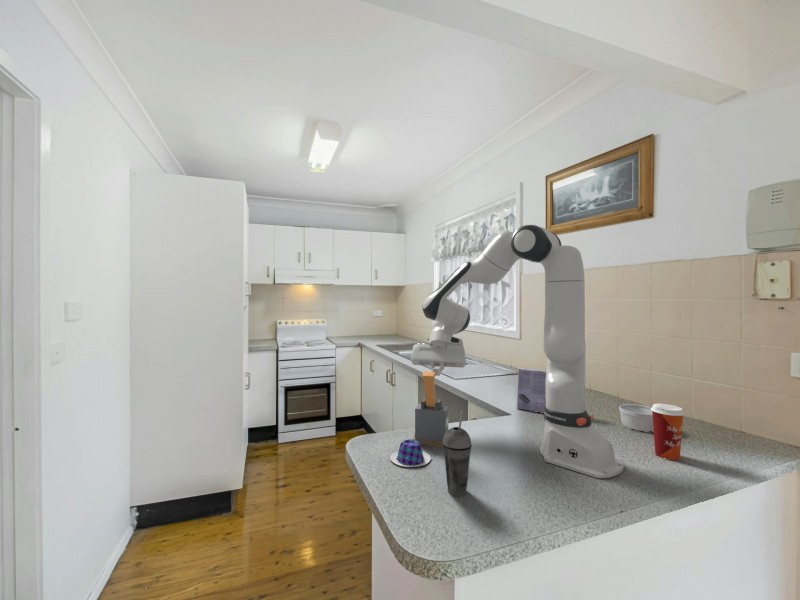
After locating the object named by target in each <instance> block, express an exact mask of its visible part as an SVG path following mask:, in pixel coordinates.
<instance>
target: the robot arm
mask: <svg viewBox="0 0 800 600" xmlns="http://www.w3.org/2000/svg"><path fill="white" fill-rule="evenodd" d="M582 257H583V256H582V254H581V251H580V250H579V249H578V248H576V247H575V246H572V245H562V241H561V239H560V238H559V236H558V235H557V234H556V233H554V232H551V231H550V230H548V229H547V228H545V227H542V226H539V225H536V224H526V225H525V224H524V225H522V226H520V227H518V228H517V229H516V230H515V231H514V232H512V231H509V230H507V231H506V230H504V231H502V232H500V233H498V234H497V236H495V237H494V238H493V239H492V240H491V241H490V242H489V244H488V245H487V246H486V248H485V249H484V250H483V251H482V253H480V255H479V256H478V257H476V258H475V259H473V260H472V261H471V260H470V261H465V262H463V263H462V264H460V266H458V267H457V268H456V269H455V270H454V271H453V272H452V273H451V274H450V275H449V276H448V277H447V279H446V278H445V279H446V280H444V281H443V282H442V283H441V285H439V286H438V287H437V288H436V289H435V290H434V291H433V292H432V293H430V294H429V295H428V296H427V297H426V298H425V300H424V301H423V304H422V308H421V309H422V312H423V314H424V316H425V318H427V319H428V320H432V323H431V333H430V334H429V341H428V342H417V343H415V344H413V345H412V349H411V350H412V352H411V354H410V363H411V365H412V366H413V365H414V366H424V367H425V366H426V367H428V366H429V367H430V369H431V372H435V377H439V376H441V373H442V372H443V370H445V367H446V368H447V367H449V368H460V369H461V368H465V367H466V365H467V363H466V361H467V360H466V352H465V347H464V342H463V339H462V338H458V337H455V336H454V335H457V334H459V333H461V332H464V331H465V330H466V329H467V328H468V326H469V325H470V321H471V313H470V310H469V309H468V308H467V307H465V306H463V305H461V304H459V303H457V302H455V301H453V300H451V299H449V298H448V297H449V296H450V295H451V294H453V292H454V291H455V290H456V289H457V288H459V286H460V285H463V284H466V283H467V284H468V283H472V284H473V283H474V284H480V285H481V284H482V285H493V284H497V283H498V282H500V281H501V280H502V279H503V278H504V277H505V276H506V275H507V274H508V272H509V271H510V270H511V269H512V267H513V266H514V265H515V263H516V262H517V261H518V260H521V259H523V260H526V261H529V262H531V263H537V264H538V263H539V264H541V265H542V266H543V269H544V296H545V297H544V305H545V306H544V320H543V321H544V323H543V324H544V325H543V352H544V354H545V356H546V357H547V359H546V370H545V371H546V405H545V406H544V414H543V420H544V430H543V437H542V442H541V445H540V448H539V453H540V454H541V456H543V460H544V462H546V463H549V464H552V465H554V466H558V467H562V468H564V469H568V470H571V471H574V472H578V473H580V474H583V475H587V476H590V477H593V478H595V479H608V478H609V479H610V478H612V477H615V476H618V475H619V474H621V473H623V472H624V470H625V466H624V462H622V461H620V460H619V459H616V458H615V457H616V456H615V453H614V452H615V451H614V447H613V445H612V443H611V442H610V441H609V440H608V439H607V438H606V436H604V435H603V434H602V433H601V432H600V431H598V429H597V428H596V427H595V426H593V425H592V420H594V419H595V418H594V417H595V415H594V414H592V415H589V414H588V411H587V410H586V346H587V345H586V333H585V332H586V328H585V327H586V324H585V323H586V315H585V313H586V299H585V298H586V296H585V294H586V292H585V283H586V282H585V270H584V269H585V268H584V262H583V258H582ZM435 367H438V368H435Z"/></svg>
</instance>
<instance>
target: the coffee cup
mask: <svg viewBox="0 0 800 600" xmlns="http://www.w3.org/2000/svg"><path fill="white" fill-rule="evenodd" d="M651 407H652V408H651V410H652V415H653V430H654V432H653V438H654V439H653V441H654V442H653V443H654V453H655V455H656V457H658V456H659V458H660V457H662V458H661V459H663V458H666V459H665V460H667V459H670V460H669V461H679V460H680V457H681V450H682V449H681V447H682V436H683V435H682V434H683V425H684V424H683V422H684V416H685V412H684V409H683V408H682V407H680V406H678V405H673V404H669V403H654V404H652V406H651ZM678 459H679V460H678Z"/></svg>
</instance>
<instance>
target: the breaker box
mask: <svg viewBox="0 0 800 600" xmlns="http://www.w3.org/2000/svg"><path fill="white" fill-rule="evenodd" d="M442 402H443V401H442V398H438V399H437V400H436V408H429V407H426V398H425V397H423V398H422V399H421V401H420V402H419V403H418V404H417V406H416V407H415V408H414V435H413V437H412V438H411V440H416V441H419V442H420V444H421V446H425V447H426V446H430V447H437V448H443V445H442V443H443V438H444V435H445V433H446V432H447V431H448V430H449V420H450V418H449V417H450V416H449V404H443V403H442Z"/></svg>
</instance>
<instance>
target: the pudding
mask: <svg viewBox="0 0 800 600" xmlns="http://www.w3.org/2000/svg"><path fill="white" fill-rule="evenodd" d="M396 458H397V460H396ZM431 458H432V457H431V455H430V454H429V453H427V452H426V451H423V449H422V445H421V444H420V442H419V441H416V440H412V438H411V439H410V438H409V439H404V440H403V441H401V443H400V445H399V448H398V450H397V451H395V452H393V453H392V454H391V455H390V461H391V462H392V463H393V464H395V465H397V466H400V467H406V468H414V467H415V468H417V467H421V466H422V467H423V466H425V465H427V464H428V463H430V461H431ZM398 462H399V463H398Z"/></svg>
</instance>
